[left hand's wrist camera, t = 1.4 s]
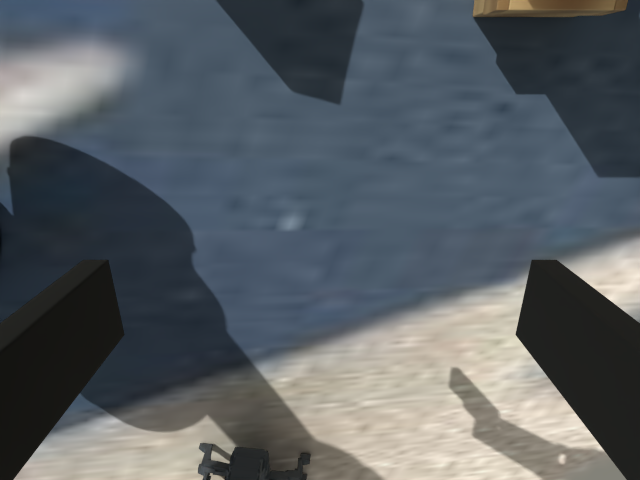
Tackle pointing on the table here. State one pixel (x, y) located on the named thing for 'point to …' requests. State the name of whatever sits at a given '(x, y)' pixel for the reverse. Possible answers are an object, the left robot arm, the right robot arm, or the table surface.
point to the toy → (248, 465)
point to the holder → (546, 8)
